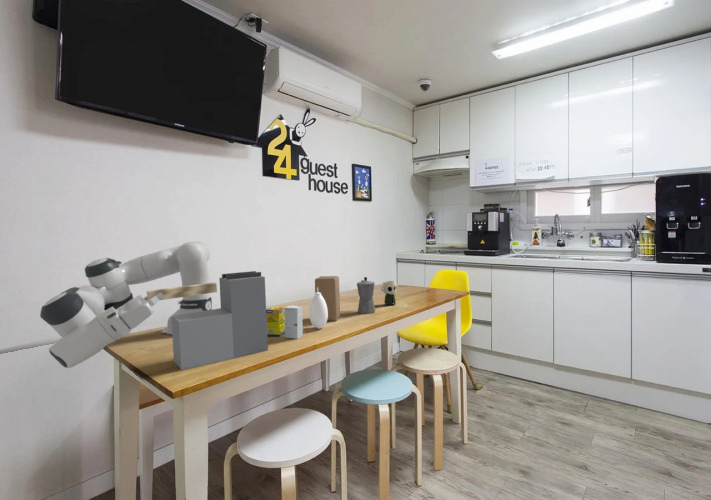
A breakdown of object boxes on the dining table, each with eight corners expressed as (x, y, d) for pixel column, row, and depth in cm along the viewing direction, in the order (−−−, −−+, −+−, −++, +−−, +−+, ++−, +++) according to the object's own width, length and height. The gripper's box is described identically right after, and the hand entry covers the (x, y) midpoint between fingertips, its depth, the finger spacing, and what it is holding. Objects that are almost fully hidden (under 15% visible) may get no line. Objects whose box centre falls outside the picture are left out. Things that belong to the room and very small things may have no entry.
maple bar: (148, 301, 108) (147, 292, 107) (147, 300, 110) (146, 291, 110) (217, 292, 120) (216, 283, 119) (214, 291, 122) (213, 282, 122)
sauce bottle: (330, 326, 157) (329, 285, 156) (325, 330, 149) (323, 288, 149) (313, 325, 159) (312, 285, 158) (307, 330, 151) (305, 288, 150)
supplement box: (280, 336, 143) (279, 309, 142) (266, 336, 144) (265, 309, 144) (286, 332, 149) (284, 306, 148) (272, 332, 150) (271, 306, 149)
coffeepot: (379, 314, 178) (377, 277, 177) (360, 315, 176) (359, 279, 175) (371, 308, 193) (370, 274, 192) (354, 309, 191) (353, 275, 190)
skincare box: (284, 337, 141) (283, 307, 140) (290, 334, 145) (289, 305, 145) (298, 339, 139) (296, 308, 138) (303, 335, 143) (302, 305, 142)
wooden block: (320, 316, 176) (319, 276, 176) (340, 316, 175) (339, 275, 174) (315, 321, 167) (314, 278, 166) (336, 321, 165) (335, 278, 164)
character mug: (385, 306, 194) (384, 283, 194) (378, 304, 201) (377, 281, 200) (401, 304, 199) (401, 281, 199) (394, 302, 206) (394, 280, 205)
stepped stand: (181, 370, 109) (176, 280, 108) (173, 360, 119) (169, 277, 118) (267, 350, 126) (264, 272, 125) (255, 342, 136) (251, 270, 135)
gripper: (120, 323, 113) (162, 297, 120) (126, 337, 97) (173, 305, 104) (107, 308, 111) (150, 282, 118) (110, 319, 95) (160, 288, 102)
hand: (161, 293), depth 111 cm, fingers closed on maple bar, 3 cm apart
